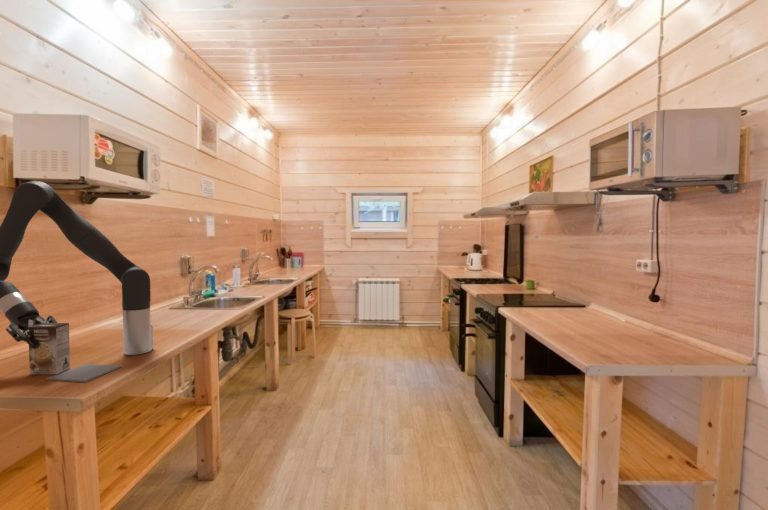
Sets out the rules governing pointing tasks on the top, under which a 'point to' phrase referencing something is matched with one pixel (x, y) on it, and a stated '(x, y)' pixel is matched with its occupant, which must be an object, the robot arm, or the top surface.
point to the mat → (84, 373)
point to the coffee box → (50, 348)
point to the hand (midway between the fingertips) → (49, 343)
